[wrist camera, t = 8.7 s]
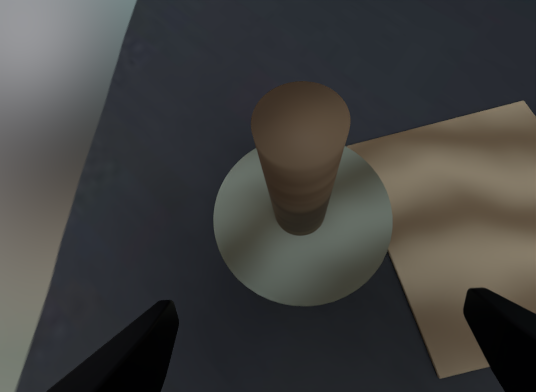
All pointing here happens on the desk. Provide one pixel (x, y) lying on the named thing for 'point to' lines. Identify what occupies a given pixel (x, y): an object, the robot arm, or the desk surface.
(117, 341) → the robot arm
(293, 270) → the lid
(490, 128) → the mat
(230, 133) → the desk surface
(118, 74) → the desk surface
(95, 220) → the desk surface
